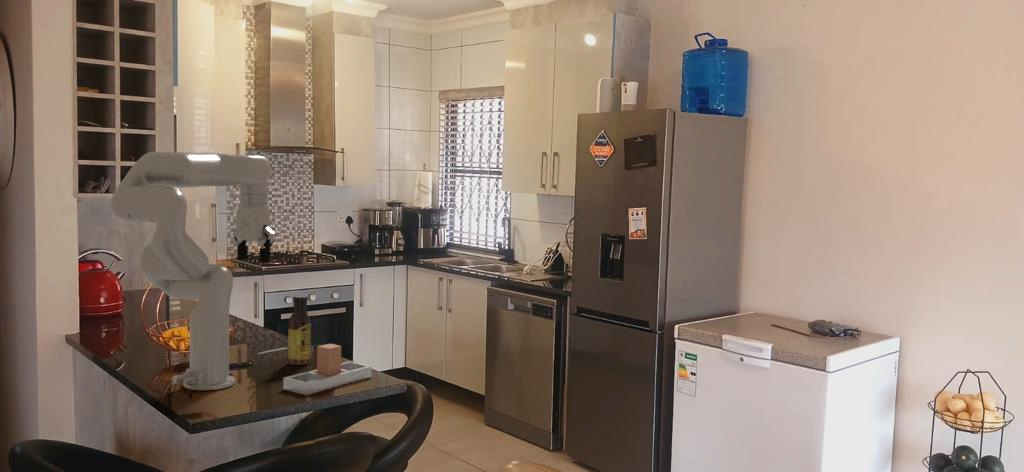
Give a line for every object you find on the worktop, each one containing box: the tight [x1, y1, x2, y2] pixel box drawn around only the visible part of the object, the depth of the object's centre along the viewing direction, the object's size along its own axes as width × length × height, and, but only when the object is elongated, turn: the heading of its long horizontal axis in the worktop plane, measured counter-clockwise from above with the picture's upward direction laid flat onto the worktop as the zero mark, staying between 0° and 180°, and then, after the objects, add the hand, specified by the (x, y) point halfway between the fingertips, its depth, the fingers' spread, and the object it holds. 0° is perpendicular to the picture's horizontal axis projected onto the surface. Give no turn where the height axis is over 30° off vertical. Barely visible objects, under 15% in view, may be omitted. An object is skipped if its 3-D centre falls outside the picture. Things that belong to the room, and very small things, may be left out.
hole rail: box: [283, 360, 373, 396], centre depth 212 cm, size 23×9×3 cm, turn 146°
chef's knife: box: [257, 346, 288, 355], centre depth 248 cm, size 19×1×3 cm
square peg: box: [316, 343, 342, 376], centre depth 211 cm, size 4×4×10 cm
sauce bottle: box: [287, 295, 312, 366], centre depth 231 cm, size 6×6×20 cm
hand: (253, 260), depth 225 cm, fingers open, 9 cm apart
